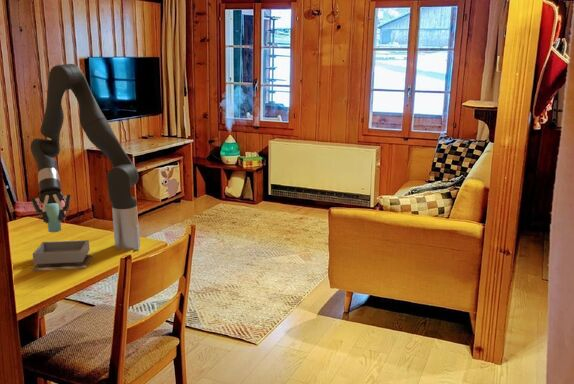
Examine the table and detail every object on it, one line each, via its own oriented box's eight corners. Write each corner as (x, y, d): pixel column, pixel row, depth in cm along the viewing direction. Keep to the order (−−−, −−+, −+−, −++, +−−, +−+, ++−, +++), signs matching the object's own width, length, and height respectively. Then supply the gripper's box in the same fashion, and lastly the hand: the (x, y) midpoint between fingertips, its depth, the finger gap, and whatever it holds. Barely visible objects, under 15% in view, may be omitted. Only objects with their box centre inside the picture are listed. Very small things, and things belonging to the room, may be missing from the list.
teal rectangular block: (62, 228, 197) (59, 202, 195) (59, 232, 193) (56, 205, 191) (50, 229, 197) (47, 203, 194) (47, 232, 192) (43, 206, 190)
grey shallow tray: (90, 255, 194) (88, 240, 193) (83, 268, 183) (81, 251, 181) (44, 258, 192) (42, 241, 190) (34, 270, 180) (32, 253, 179)
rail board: (93, 258, 195) (92, 253, 194) (86, 270, 183) (86, 266, 183) (41, 260, 192) (41, 256, 191) (31, 273, 180) (31, 268, 180)
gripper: (27, 179, 194) (31, 218, 186) (69, 175, 200) (74, 214, 192) (29, 189, 200) (33, 229, 192) (69, 186, 206) (75, 223, 198)
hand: (53, 221), depth 192 cm, fingers closed on teal rectangular block, 4 cm apart
